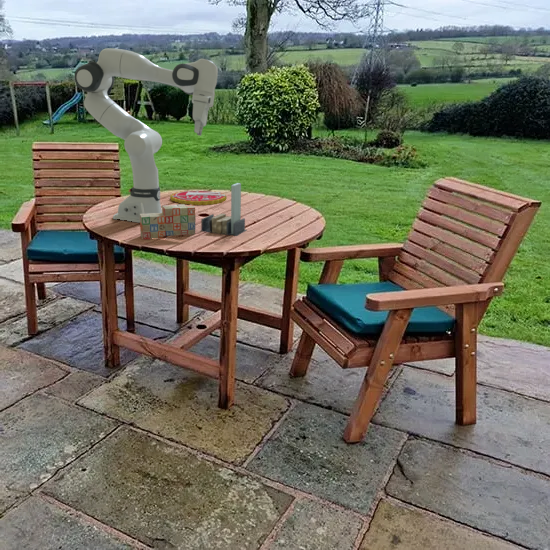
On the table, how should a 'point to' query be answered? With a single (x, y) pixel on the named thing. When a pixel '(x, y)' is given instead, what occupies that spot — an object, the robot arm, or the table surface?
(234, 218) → the tall panel
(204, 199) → the decorative sign
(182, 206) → the stack of blocks
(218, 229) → the offcut
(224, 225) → the offcut
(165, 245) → the table surface
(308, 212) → the table surface
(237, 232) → the slot rack
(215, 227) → the offcut
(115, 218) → the robot arm
